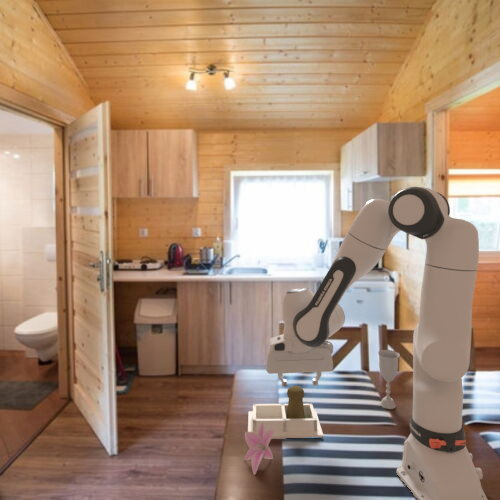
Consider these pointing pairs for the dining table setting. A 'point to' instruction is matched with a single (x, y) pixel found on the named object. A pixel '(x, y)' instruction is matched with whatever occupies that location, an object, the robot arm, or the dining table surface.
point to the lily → (258, 446)
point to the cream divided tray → (284, 421)
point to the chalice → (388, 373)
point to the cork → (295, 403)
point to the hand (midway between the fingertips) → (299, 385)
